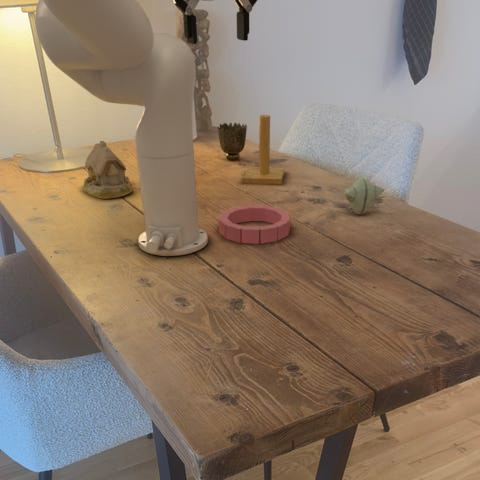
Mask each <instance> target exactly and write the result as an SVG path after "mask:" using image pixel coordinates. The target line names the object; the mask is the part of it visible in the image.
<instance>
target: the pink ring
mask: <svg viewBox="0 0 480 480" xmlns="http://www.w3.org/2000/svg"><path fill="white" fill-rule="evenodd" d="M291 216H292V215H291V214H290V213H289V212H287V211H286V210H284V209H282V208H279V207H276V206H270V205H261V204H251V205H242V206H241V205H240V206H235V207H231V208H229V209H226V210H224V211H222V212H221V213H220V216H219V217H218V232H219V234H220V235H221V236H222V237H223V238H224V239H226V240H228V241H231V242H235V243H239V244H248V245H249V244H250V245H251V244H253V245H259V244H261V245H262V244H268V243H274V242H277V241H280V240H283V239H284V238H286V237H289V235H290V231H291ZM247 222H265V223H269V224H268V225H262V226H252V225H251V226H250V225H249V226H248V225H247V226H245V225H241V223H247Z"/></svg>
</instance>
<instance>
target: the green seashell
mask: <svg viewBox="0 0 480 480" xmlns="http://www.w3.org/2000/svg"><path fill="white" fill-rule="evenodd" d="M384 191H385V190H384V188H382V187H381V186H380V185H376V184H375V183H372V182H371V181H370V180H369V179H367V178H364V177H363V178H362V177H361V178H359V179H357V180H356V181H355V182H354V183H353V185H351V187H348V188H346V189H344V196H345V198H346V199H347V201H348V202H349V203H350V206H351V208H352V210H353V212H354V213H355V214H357V215H359V216H361V215H364V214H366V213H367V211H368V210H369V209H370V208H371V206H372V204H373V202H374V201H375V200H376V199H377V198H378V197H379V196H380V195H381V194H382V193H383V192H384Z"/></svg>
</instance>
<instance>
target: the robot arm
mask: <svg viewBox="0 0 480 480" xmlns="http://www.w3.org/2000/svg"><path fill="white" fill-rule="evenodd" d="M171 1H172V4H174V5H175V7H176V8H177V9H178V10H179V11H180V14H181V15H182V16H183V17H182V18H183V19H182V20H183V29H184V30H183V34H184V38H185V39H186V42H185V40H183V39H181V38H180V37H179V36H176V35H172V34H170V33H164V32H154V30H153V26H152V23H151V21H150V19H149V17H148V15H147V13H146V11H145V10H144V8H143V6H141V5H140V3H139V2H138V1H137V0H38V2H37V4H36V8H35V13H34V25H35V30H36V34H37V39H38V41H39V43H40V45H41V48H42V49H43V51H44V53H45V55H46V56H47V58H48V59H49V61H51V63H52V64H53V65H54V66H55V67H56V68H57V69H59V70H60V71H61V72H62V73H63V74H65V75H66V76H67V77H69V79H71V80H73V81H74V83H76V84H77V85H79V86H80V87H82V88H83V89H84V90H85V91H86V92H88V93H89V94H91V95H92V96H94V97H95V98H97V99H99V100H101V101H102V102H104V103H105V102H106V103H111V104H117V105H129V106H130V105H131V106H139V107H143V112H142V115H141V117H140V119H139V121H138V124H137V126H136V129H135V132H134V133H135V134H134V148H135V154H136V162H137V170H138V178H139V179H138V180H139V187H140V194H141V205H142V211H143V212H142V213H143V220H144V228H145V229H144V230H145V231H144V232H142V233H141V234H140V235H139V236H138V239H137V242H138V247H139V249H141V251H143V252H145V253H147V254H150V255H155V256H159V257H161V256H162V257H177V256H185V255H190V254H193V253H196V252H197V251H198V252H199V251H200V250H202V249H203V248H205V247H206V246H207V244H208V242H209V241H208V240H209V236H208V234H207V231H205V230H204V229H201V228H199V227H200V226H199V211H198V198H197V197H198V196H197V181H196V180H197V179H196V164H195V150H194V130H193V109H194V107H193V106H194V105H193V104H194V96H195V95H194V94H195V84H196V61H195V56H194V53H193V51H192V49H191V47H190V46H189V45H188V44H191V45H196V44H197V43H198V30H197V26H198V25H197V16H196V15H195V14H194V11H195V9H196V7H197V6H198V4H199V3H200V0H171ZM202 1H206V2H207V1H208V2H210V1H213V0H202ZM233 2H234V3H235V5H236V6H237V7H238V11H237V12H236V39H237V40H238V41H245V42H246V41H248V39H249V34H250V13H251V12H252V11H253V8H254V6H255V5H256V3H257V2H258V0H233Z"/></svg>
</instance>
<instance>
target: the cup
mask: <svg viewBox="0 0 480 480" xmlns="http://www.w3.org/2000/svg"><path fill="white" fill-rule="evenodd" d="M216 128H217V133H218V141H219V146H220V149H221V150H222V151H223V153H224V154H225V159H226V160H228V161H233V162H234V161H238V160H239V159H240V157H241V154H240V153H242V152H243V150H244V149H245V146H246V139H247V129H248V125H247V124H244V123H242V125H241V123H240V122H238V123H237V122H235V123H232V122H229V124H228V123H226V122H224V123H220V124H219V126H218V125H217V127H216Z"/></svg>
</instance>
